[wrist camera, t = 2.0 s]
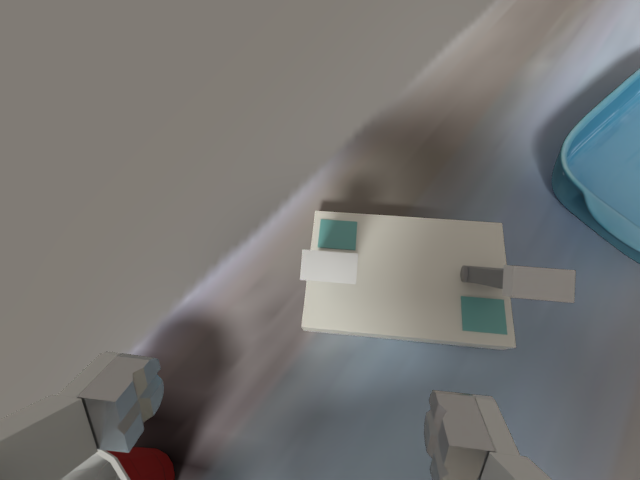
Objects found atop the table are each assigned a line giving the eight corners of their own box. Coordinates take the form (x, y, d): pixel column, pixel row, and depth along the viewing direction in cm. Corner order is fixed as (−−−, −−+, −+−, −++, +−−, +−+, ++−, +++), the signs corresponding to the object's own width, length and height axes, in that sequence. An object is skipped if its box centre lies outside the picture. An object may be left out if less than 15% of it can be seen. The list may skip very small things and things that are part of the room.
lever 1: (353, 275, 38) (356, 284, 26) (314, 272, 39) (300, 279, 27) (355, 254, 38) (358, 253, 26) (316, 251, 39) (302, 249, 27)
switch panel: (503, 350, 37) (517, 347, 34) (304, 330, 39) (301, 326, 36) (491, 233, 42) (502, 222, 39) (316, 221, 44) (315, 209, 41)
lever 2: (501, 287, 37) (574, 302, 25) (459, 284, 37) (511, 297, 25) (502, 265, 37) (575, 270, 25) (461, 262, 37) (513, 265, 25)
